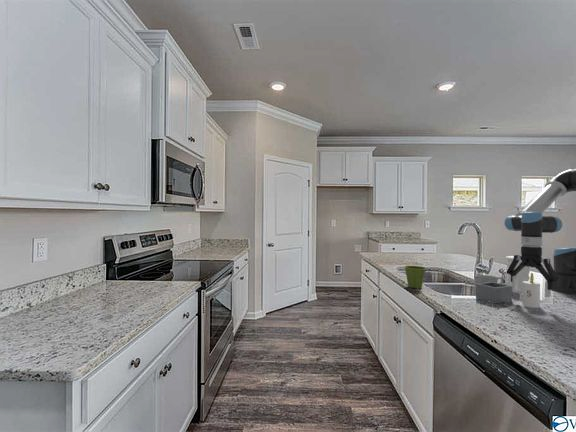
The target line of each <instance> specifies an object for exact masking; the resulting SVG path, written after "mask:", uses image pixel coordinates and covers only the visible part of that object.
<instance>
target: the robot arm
mask: <svg viewBox="0 0 576 432" xmlns="http://www.w3.org/2000/svg"><path fill="white" fill-rule="evenodd" d="M570 192H572V193H573V192H576V167H575V168H569V169H567V170H564V171H562V172H559V173H558V174H557V175H555V176H554V177H552V178H550V180H548V181H547V182H546V183H545V184H544V188H543V189H541V191H540V192H539V193H538V194H537V195H536V196H534V197H533V198H532V199H531V200H530V201H529V202H528V203H527V204H526V205H525V206H524V207H523V208H522V209H520V211H519V212H518V213H516V214H515V215H508V216H507V217H505V219H504V226H505V228H506V230H508V231H514V232H521V235H520V245H521V247H520V254H521V255H519V254H516V255H513V256H514V258H513V261H512V263H511V265H510V266H509V268H508V270H506V275H507V274H510V275H511V282H512V290H518V276H515V275H516V274H518V273H519V272H520V271H521V270H522V269H523V268H524V267H525V266H527V267H529V266H530V267H529V268H535V269H536V270H537V271H538V272H539V273H540V274H541V276H543V278H544V279H545V280H546V281H545V282H544V285H545V286H544V298H552V291H556V292H559V293H565V294H573V295H574V294H575V295H576V247H557V248H555V249H554V251H553V256H552V257H553V266H552V264H551V259H550V258H542V255H543V248H542V246H543V233H545V234H547V233H550V234H553V233H557V232H559V231H561V230H562V228H563V221H562V219H560V218H559V216H552V215H544V216H543V213H544V212H545V211H546V210H547V209H548V208H549V207H550V206H551V205H553V203H554V202H555V201H556V200H557V199H558V198H560V197H563V196H565V195H566V194H567V193H570ZM520 259H521V260H522V262H521V263H520V264H519V266H518V267H517V268H516V269H515V267H516V265H517V264H518V262H519V260H520ZM542 263H543V264H542ZM544 267H545V268H544ZM514 269H515V270H514ZM513 270H514V271H513Z"/></svg>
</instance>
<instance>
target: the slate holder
mask: <svg viewBox="0 0 576 432" xmlns="http://www.w3.org/2000/svg"><path fill="white" fill-rule="evenodd" d="M476 298H477V299H476ZM475 299H476V300H479V299H480V300H479V301H483V300H485V301H484V302H487V301H490V302H493V303H492V304H494V303H500V304H503V303H502V302H506V303H510V302H509V301H512V302H513V292H512V286H509V285H507V284H504V283H502V284H500V282H497V283H495V282H486V283H478V284H476V286H475ZM490 302H489V303H490Z"/></svg>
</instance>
